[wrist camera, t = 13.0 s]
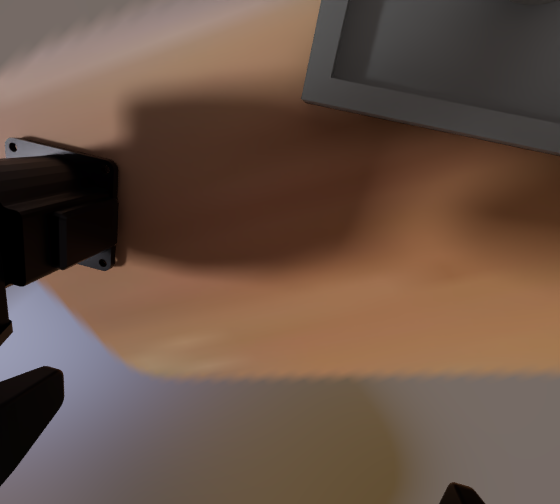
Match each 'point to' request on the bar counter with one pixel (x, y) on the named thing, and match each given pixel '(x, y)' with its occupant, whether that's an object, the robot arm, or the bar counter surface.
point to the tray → (443, 66)
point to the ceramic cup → (532, 1)
